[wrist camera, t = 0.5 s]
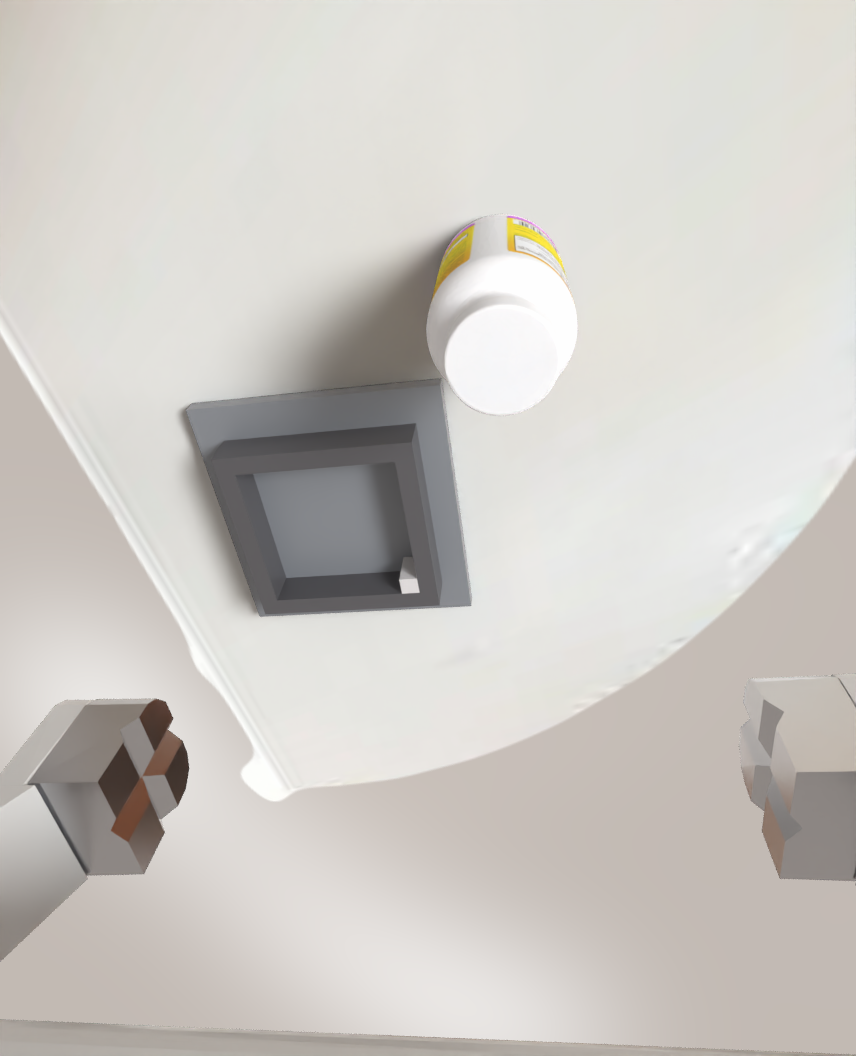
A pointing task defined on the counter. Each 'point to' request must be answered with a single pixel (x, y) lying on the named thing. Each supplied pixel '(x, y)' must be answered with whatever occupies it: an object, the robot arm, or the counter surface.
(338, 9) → the counter surface
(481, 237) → the supplement bottle
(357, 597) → the pocket plate
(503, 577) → the counter surface
